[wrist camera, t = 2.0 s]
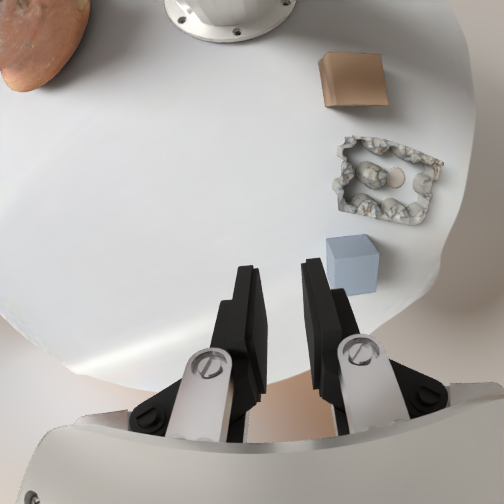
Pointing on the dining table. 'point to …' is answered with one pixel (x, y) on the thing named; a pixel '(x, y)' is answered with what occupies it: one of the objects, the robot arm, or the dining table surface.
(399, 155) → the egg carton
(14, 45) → the ceramic jug
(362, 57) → the walnut block
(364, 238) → the slate-blue block
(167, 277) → the dining table surface
